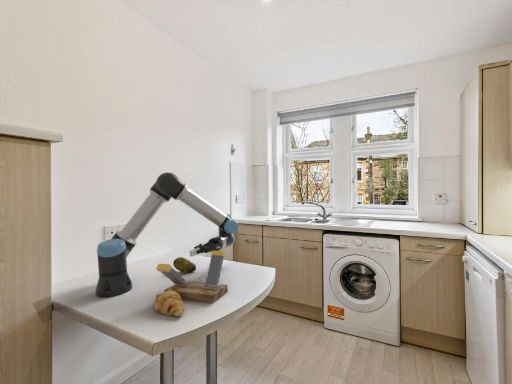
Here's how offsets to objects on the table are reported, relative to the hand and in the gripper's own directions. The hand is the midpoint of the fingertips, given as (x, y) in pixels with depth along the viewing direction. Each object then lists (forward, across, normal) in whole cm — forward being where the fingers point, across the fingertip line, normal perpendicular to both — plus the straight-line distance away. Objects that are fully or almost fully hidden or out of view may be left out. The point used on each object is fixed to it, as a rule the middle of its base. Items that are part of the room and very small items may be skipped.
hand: (191, 253), depth 124 cm
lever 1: (+8, 0, -11) cm, 14 cm away
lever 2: (+8, -16, -11) cm, 21 cm away
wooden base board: (+8, -8, -15) cm, 19 cm away
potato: (-17, +18, -16) cm, 29 cm away
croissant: (+23, -6, -16) cm, 29 cm away
